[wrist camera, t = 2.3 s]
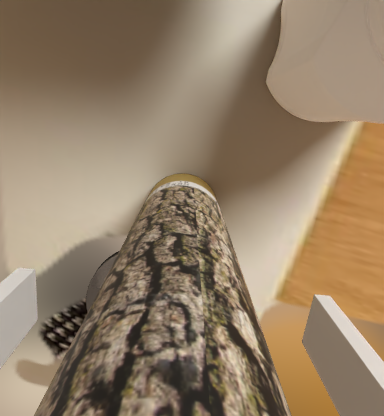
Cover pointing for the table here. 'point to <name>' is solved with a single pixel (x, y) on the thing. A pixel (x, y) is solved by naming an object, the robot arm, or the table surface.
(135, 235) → the paper tube
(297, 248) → the table surface
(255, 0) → the table surface
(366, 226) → the table surface
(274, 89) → the jar
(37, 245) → the table surface
